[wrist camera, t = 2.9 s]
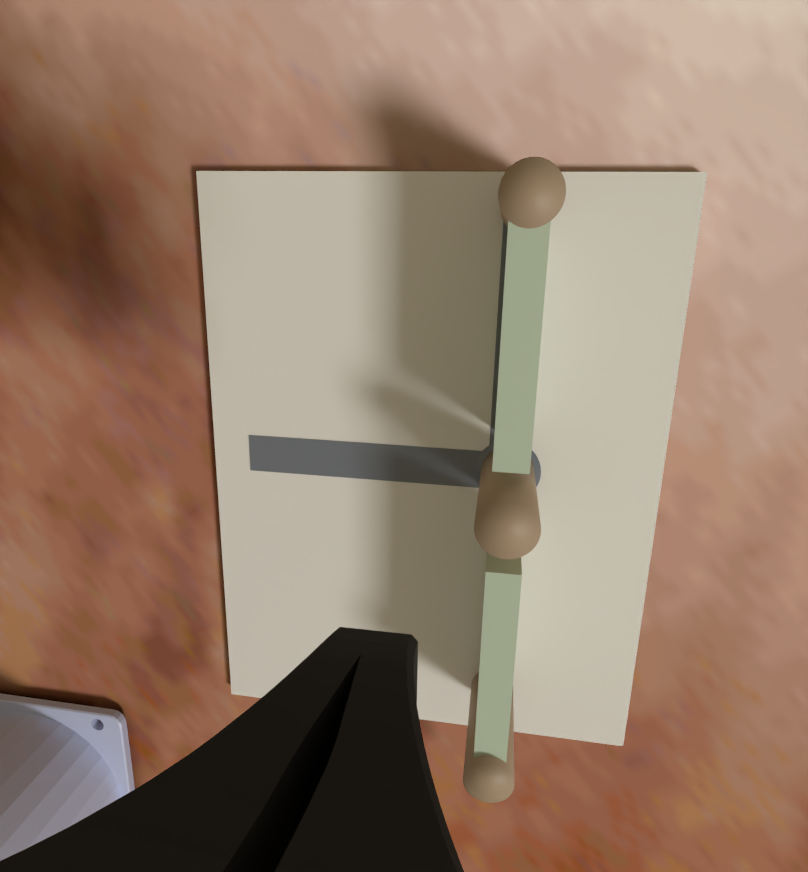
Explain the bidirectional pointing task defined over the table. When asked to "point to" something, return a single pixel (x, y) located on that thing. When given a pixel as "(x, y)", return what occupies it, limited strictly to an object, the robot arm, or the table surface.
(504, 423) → the fence fixed
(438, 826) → the robot arm
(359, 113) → the table surface
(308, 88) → the table surface
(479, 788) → the fence panel
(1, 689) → the table surface
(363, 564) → the card
